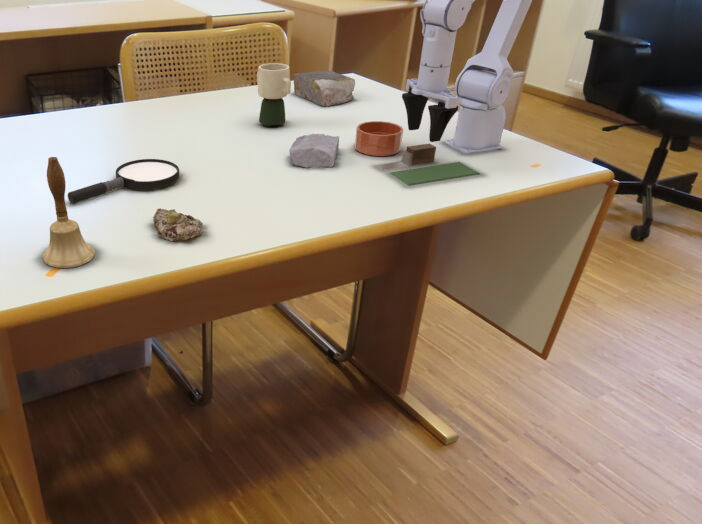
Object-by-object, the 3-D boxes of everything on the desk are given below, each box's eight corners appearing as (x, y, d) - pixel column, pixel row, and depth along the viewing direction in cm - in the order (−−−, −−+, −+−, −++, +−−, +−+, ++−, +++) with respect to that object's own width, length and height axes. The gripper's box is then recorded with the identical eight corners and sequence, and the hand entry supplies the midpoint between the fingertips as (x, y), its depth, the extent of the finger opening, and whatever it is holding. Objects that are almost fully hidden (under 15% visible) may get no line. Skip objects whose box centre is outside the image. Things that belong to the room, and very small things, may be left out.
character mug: (298, 126, 161) (302, 68, 154) (276, 133, 158) (279, 73, 150) (267, 116, 168) (269, 59, 160) (245, 122, 164) (246, 64, 157)
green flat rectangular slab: (458, 163, 141) (459, 161, 141) (480, 175, 136) (481, 173, 136) (389, 174, 137) (389, 172, 137) (408, 187, 131) (409, 185, 131)
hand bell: (32, 263, 107) (13, 164, 98) (60, 241, 114) (45, 146, 104) (78, 272, 105) (63, 171, 96) (104, 249, 111) (92, 152, 102)
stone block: (289, 174, 141) (337, 168, 139) (285, 151, 139) (334, 144, 136) (296, 157, 151) (341, 150, 148) (292, 135, 148) (339, 128, 146)
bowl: (384, 140, 153) (387, 119, 150) (408, 154, 146) (411, 132, 143) (346, 146, 150) (348, 124, 147) (368, 160, 143) (371, 137, 140)
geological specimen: (326, 68, 186) (360, 77, 174) (324, 92, 189) (357, 102, 178) (292, 72, 181) (325, 82, 170) (291, 96, 185) (324, 107, 173)
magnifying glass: (53, 194, 130) (51, 183, 128) (153, 163, 143) (153, 152, 141) (90, 214, 122) (88, 202, 121) (192, 179, 135) (191, 168, 134)
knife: (426, 159, 143) (429, 143, 141) (433, 163, 141) (436, 147, 139) (376, 166, 140) (378, 150, 138) (383, 171, 138) (385, 154, 136)
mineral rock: (217, 219, 114) (179, 220, 109) (212, 244, 116) (175, 246, 111) (178, 202, 121) (141, 202, 116) (175, 226, 123) (138, 227, 118)
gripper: (396, 57, 135) (387, 126, 143) (439, 75, 124) (427, 149, 132) (427, 54, 137) (416, 122, 145) (472, 71, 126) (458, 144, 134)
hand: (423, 135), depth 138 cm, fingers open, 7 cm apart
